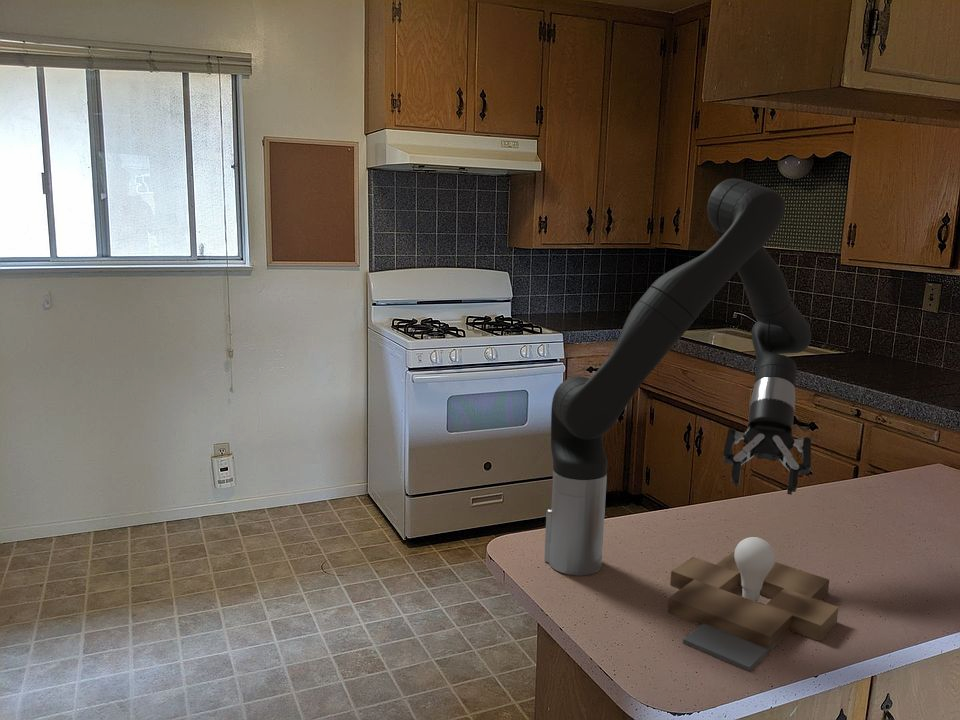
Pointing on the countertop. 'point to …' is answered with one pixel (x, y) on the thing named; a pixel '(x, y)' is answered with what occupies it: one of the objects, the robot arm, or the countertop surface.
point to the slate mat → (726, 646)
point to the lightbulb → (753, 565)
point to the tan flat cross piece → (747, 619)
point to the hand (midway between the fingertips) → (762, 488)
